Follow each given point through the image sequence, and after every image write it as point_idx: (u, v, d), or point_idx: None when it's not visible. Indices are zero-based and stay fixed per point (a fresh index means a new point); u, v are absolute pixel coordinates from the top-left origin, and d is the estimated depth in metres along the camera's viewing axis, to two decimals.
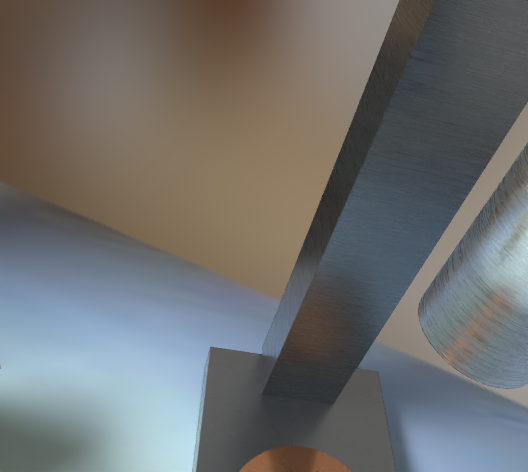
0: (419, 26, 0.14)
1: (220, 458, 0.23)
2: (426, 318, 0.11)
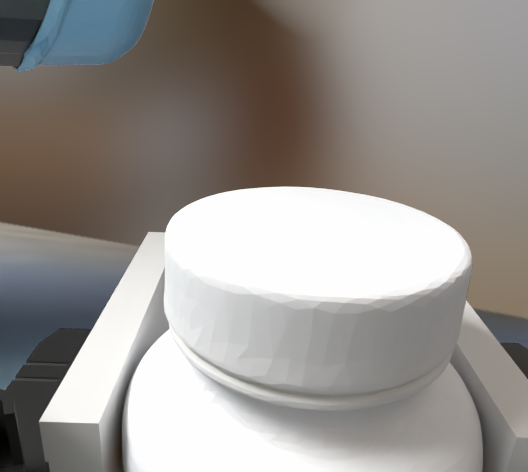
0: None
1: None
2: None
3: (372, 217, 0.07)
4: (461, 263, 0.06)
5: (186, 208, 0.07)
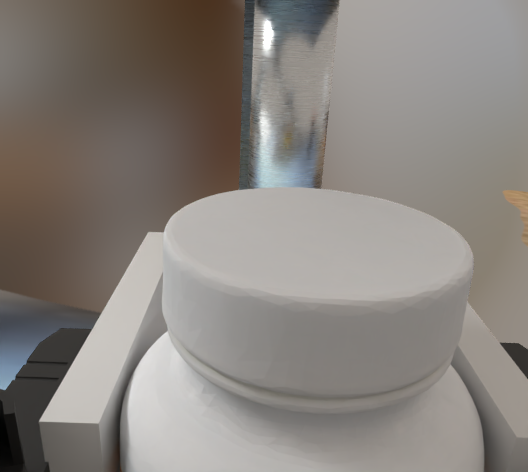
0: (242, 91, 0.25)
1: None
2: None
3: (373, 219, 0.07)
4: (463, 266, 0.06)
5: (185, 209, 0.07)
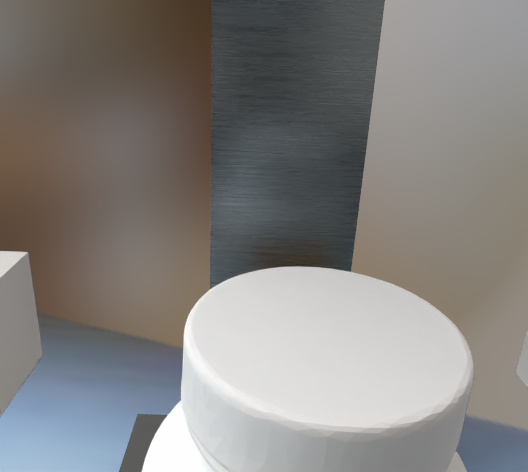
0: None
1: None
2: None
3: (379, 311, 0.07)
4: (465, 379, 0.06)
5: (202, 301, 0.07)
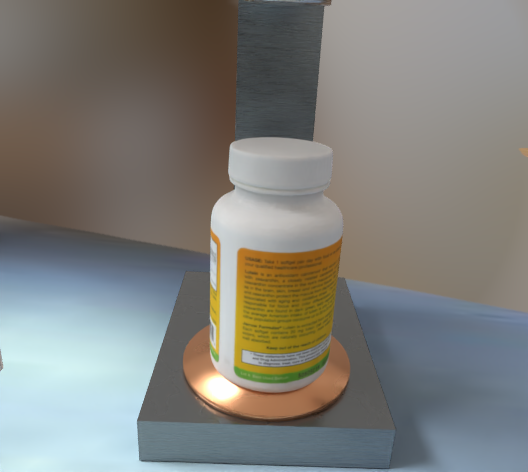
0: None
1: (189, 324, 0.25)
2: None
3: (302, 145, 0.19)
4: (325, 153, 0.18)
5: (235, 141, 0.19)
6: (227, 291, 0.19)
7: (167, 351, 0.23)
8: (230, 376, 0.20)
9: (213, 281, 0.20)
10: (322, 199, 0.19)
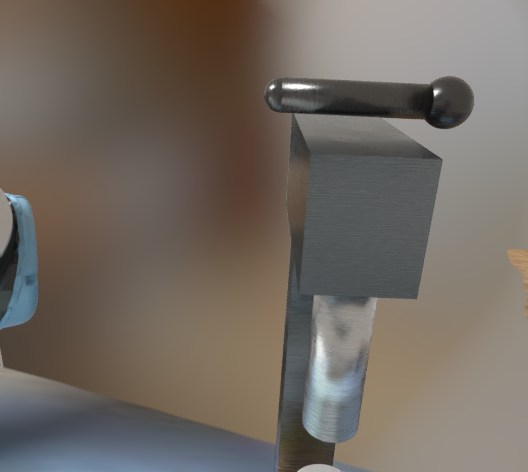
0: (291, 286, 0.31)
1: None
2: (302, 417, 0.26)
3: None
4: None
5: None
6: None
7: None
8: None
9: None
10: None
